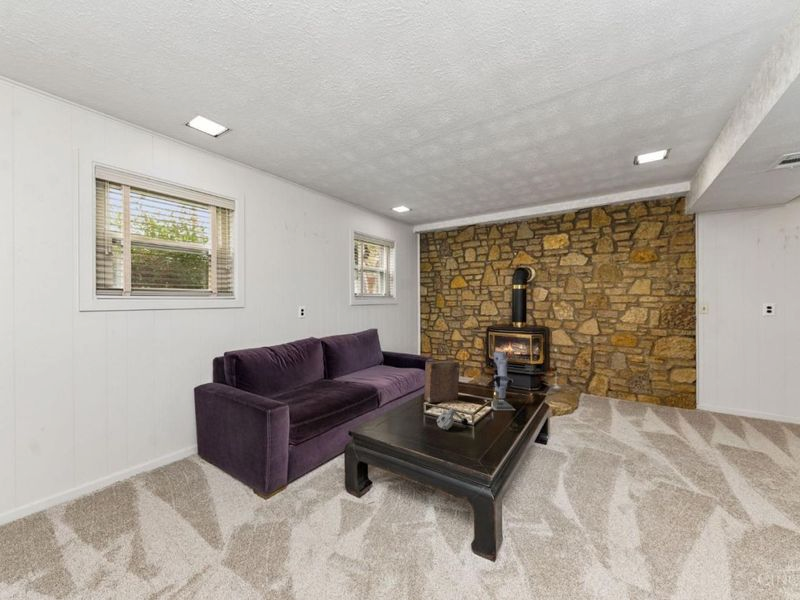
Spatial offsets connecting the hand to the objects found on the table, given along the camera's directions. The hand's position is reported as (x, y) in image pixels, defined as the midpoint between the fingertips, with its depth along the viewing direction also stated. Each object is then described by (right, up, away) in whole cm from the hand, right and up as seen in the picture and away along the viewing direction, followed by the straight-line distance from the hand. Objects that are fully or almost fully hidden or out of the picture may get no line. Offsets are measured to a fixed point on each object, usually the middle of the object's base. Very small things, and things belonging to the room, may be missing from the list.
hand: (503, 388), depth 253 cm
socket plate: (-4, -13, +1) cm, 14 cm away
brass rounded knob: (-4, -12, +7) cm, 15 cm away
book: (-46, -12, +9) cm, 48 cm away
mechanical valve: (-45, -14, -41) cm, 62 cm away
